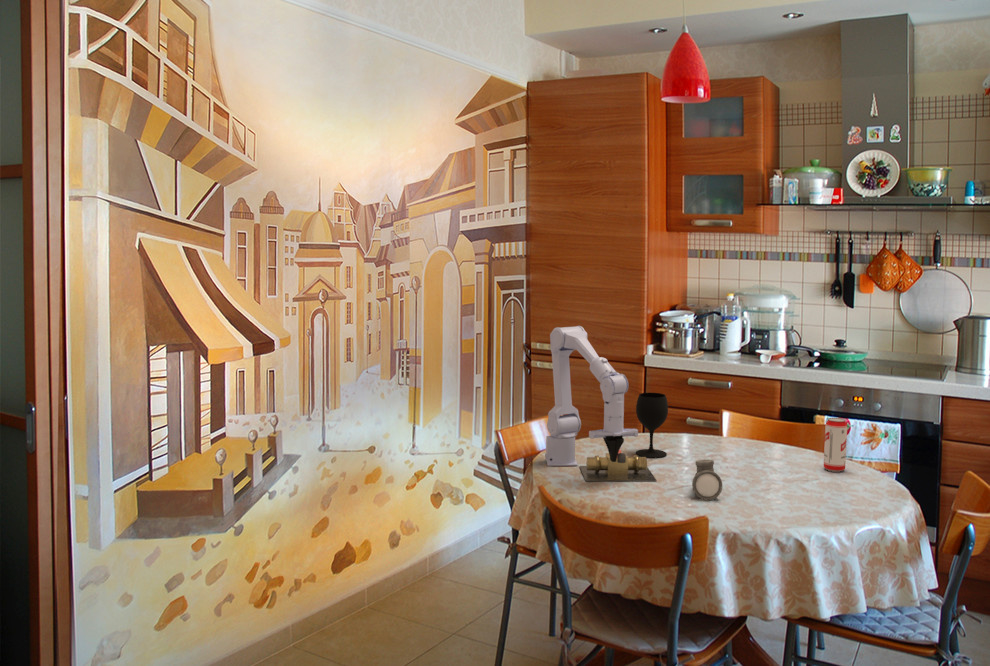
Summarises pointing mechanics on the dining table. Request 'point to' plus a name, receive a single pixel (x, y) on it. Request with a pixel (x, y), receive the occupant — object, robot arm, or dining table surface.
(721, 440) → the dining table surface
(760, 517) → the dining table surface
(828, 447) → the beer can
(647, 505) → the dining table surface
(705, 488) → the pipe fitting
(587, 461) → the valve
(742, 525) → the dining table surface
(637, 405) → the wine glass
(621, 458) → the lever
